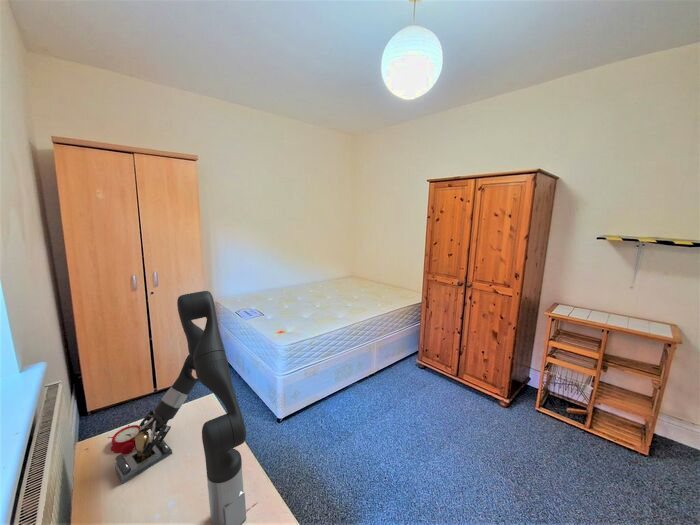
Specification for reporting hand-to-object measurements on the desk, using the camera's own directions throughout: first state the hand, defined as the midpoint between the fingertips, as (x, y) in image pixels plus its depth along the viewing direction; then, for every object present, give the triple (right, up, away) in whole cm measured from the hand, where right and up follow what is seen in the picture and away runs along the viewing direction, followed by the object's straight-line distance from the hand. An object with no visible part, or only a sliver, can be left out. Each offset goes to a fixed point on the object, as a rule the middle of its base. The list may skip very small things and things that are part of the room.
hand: (139, 448), depth 101 cm
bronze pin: (+1, -6, +2) cm, 7 cm away
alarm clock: (-11, -5, +10) cm, 16 cm away
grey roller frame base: (0, -6, +2) cm, 7 cm away
